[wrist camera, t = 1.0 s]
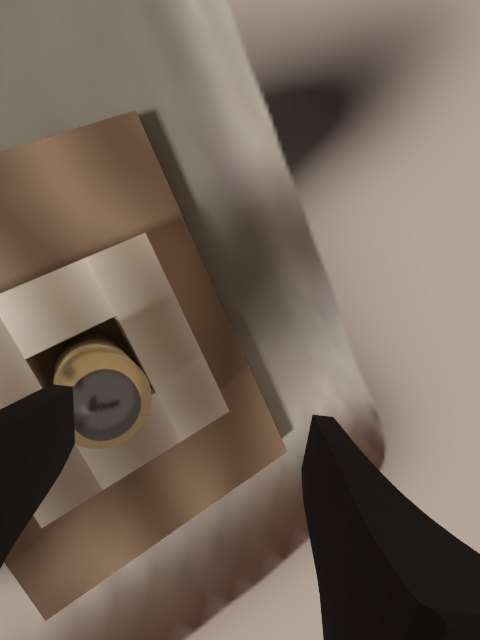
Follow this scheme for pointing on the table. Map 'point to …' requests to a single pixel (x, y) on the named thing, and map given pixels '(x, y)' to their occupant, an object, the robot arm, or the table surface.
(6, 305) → the wall socket panel
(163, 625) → the table surface
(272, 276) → the table surface
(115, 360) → the plug
